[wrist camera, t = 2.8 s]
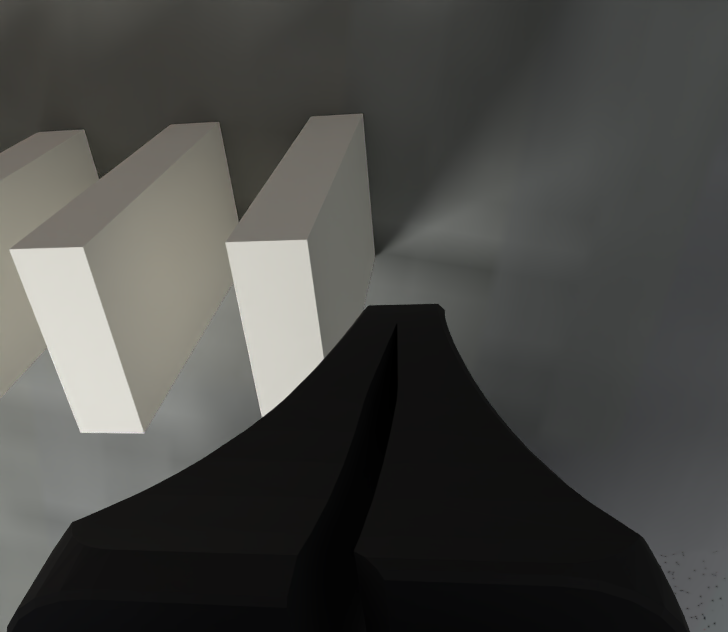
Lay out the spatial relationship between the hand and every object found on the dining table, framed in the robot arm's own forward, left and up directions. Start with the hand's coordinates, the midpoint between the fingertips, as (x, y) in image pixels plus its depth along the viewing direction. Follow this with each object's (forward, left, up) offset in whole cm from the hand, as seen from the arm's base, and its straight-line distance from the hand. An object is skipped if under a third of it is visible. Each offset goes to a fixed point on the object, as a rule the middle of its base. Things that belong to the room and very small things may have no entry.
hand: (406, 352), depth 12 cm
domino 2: (+5, +5, -10) cm, 13 cm away
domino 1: (+1, +2, -10) cm, 11 cm away
